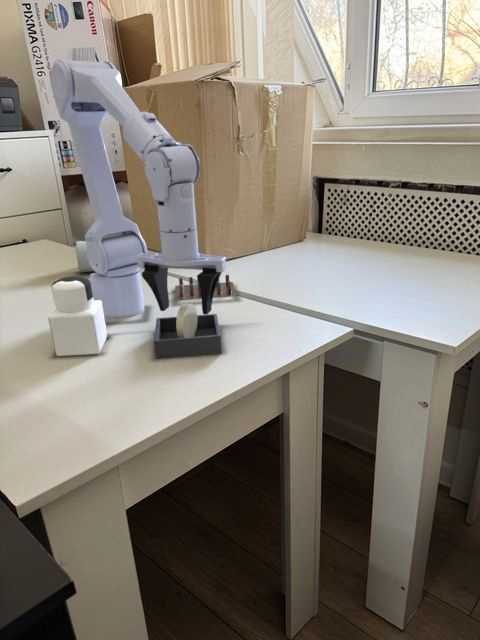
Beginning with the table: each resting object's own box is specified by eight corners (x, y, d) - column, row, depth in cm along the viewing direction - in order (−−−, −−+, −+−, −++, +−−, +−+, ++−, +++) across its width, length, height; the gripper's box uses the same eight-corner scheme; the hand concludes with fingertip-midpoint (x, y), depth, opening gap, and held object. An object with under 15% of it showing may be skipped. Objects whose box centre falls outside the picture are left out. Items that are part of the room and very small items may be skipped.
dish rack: (175, 304, 105) (173, 289, 104) (175, 289, 114) (174, 275, 113) (237, 300, 107) (236, 285, 105) (233, 286, 116) (232, 271, 114)
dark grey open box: (156, 358, 82) (153, 341, 81) (158, 334, 91) (156, 318, 90) (221, 353, 83) (220, 336, 82) (217, 329, 93) (216, 313, 91)
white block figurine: (67, 339, 90) (53, 274, 85) (108, 337, 90) (97, 272, 85) (55, 357, 84) (40, 287, 78) (99, 354, 84) (87, 285, 79)
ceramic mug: (113, 272, 127) (109, 242, 123) (79, 275, 125) (74, 245, 121) (112, 262, 136) (107, 233, 132) (79, 265, 133) (74, 236, 130)
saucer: (177, 346, 84) (174, 309, 82) (192, 333, 90) (189, 298, 88) (184, 347, 84) (181, 310, 82) (198, 333, 90) (196, 299, 87)
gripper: (230, 225, 81) (234, 305, 87) (147, 222, 84) (156, 299, 90) (215, 234, 75) (220, 320, 80) (126, 231, 78) (137, 313, 84)
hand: (185, 310), depth 85 cm, fingers open, 7 cm apart
